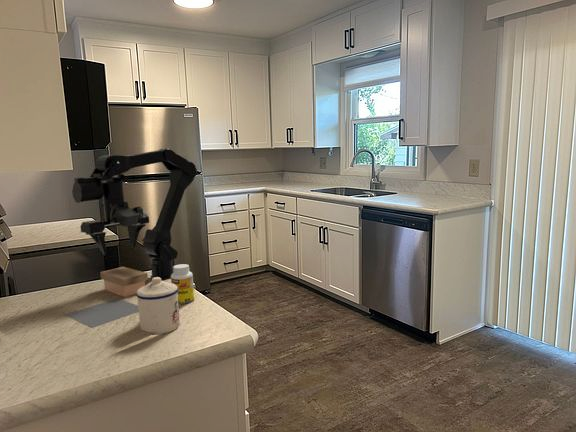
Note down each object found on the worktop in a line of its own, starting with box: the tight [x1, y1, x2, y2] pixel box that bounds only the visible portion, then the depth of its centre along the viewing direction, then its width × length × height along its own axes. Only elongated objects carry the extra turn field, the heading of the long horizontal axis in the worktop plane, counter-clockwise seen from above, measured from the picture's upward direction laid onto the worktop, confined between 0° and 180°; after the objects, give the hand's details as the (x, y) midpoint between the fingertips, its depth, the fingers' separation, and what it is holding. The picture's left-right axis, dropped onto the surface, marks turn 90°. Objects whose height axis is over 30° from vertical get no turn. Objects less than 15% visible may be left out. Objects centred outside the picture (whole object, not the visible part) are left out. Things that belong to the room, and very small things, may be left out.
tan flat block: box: [99, 266, 149, 287], centre depth 121 cm, size 7×13×2 cm, turn 51°
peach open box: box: [103, 280, 146, 298], centre depth 121 cm, size 6×11×4 cm, turn 51°
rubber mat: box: [64, 298, 139, 329], centre depth 105 cm, size 14×14×1 cm
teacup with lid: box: [135, 277, 181, 336], centre depth 96 cm, size 12×9×12 cm
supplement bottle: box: [170, 263, 195, 306], centre depth 110 cm, size 6×6×10 cm
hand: (119, 251), depth 124 cm, fingers open, 9 cm apart
